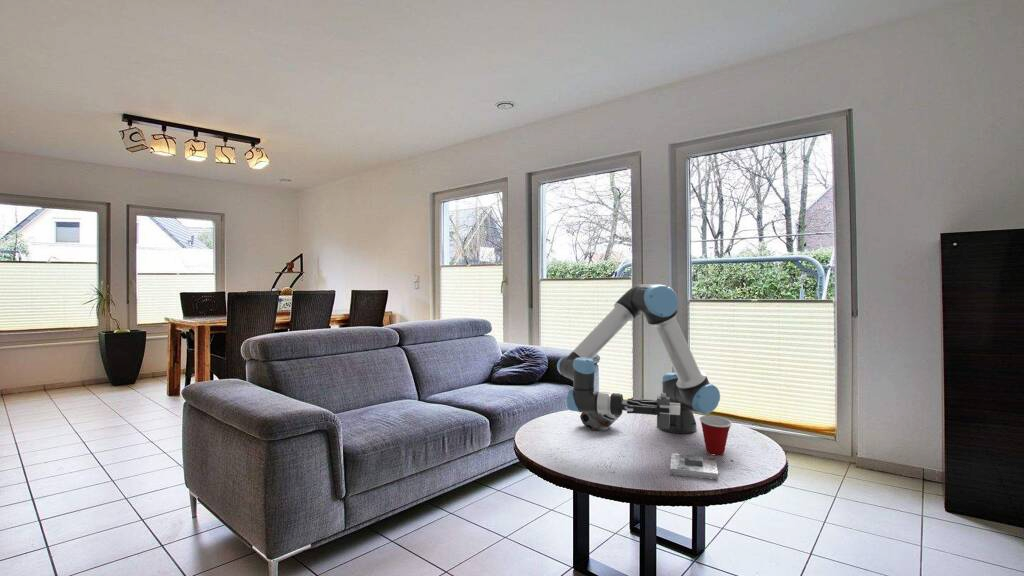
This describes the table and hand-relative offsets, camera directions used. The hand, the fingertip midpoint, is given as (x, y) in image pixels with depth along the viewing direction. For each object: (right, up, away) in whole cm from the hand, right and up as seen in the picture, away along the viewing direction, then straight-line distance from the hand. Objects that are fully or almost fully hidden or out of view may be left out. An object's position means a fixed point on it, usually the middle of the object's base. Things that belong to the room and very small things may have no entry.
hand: (680, 409), depth 172 cm
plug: (-5, -6, +2) cm, 8 cm away
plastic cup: (+16, -18, +9) cm, 25 cm away
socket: (+2, -18, -6) cm, 19 cm away
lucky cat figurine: (-20, -18, +40) cm, 48 cm away
